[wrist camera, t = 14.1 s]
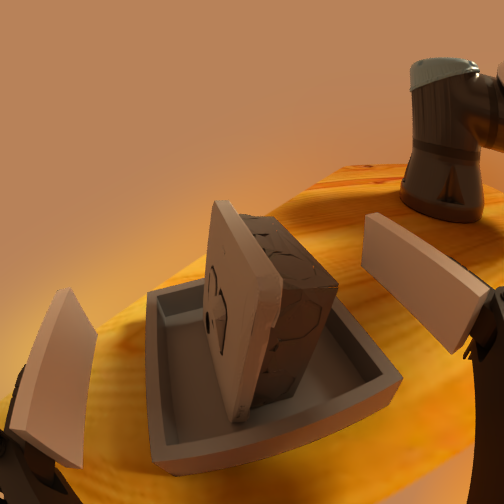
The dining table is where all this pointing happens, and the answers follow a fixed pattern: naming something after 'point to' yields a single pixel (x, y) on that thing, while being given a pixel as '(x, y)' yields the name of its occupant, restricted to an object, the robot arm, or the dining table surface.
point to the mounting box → (261, 417)
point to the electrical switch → (260, 308)
